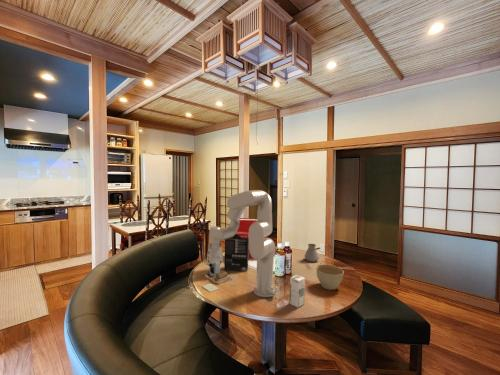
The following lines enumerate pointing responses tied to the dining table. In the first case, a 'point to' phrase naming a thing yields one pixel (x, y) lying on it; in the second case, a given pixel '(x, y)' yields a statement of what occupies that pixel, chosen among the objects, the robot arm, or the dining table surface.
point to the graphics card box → (237, 252)
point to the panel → (215, 269)
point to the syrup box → (297, 291)
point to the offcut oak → (221, 279)
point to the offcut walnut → (221, 275)
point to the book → (246, 227)
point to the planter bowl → (329, 276)
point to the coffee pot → (311, 253)
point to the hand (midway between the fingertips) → (214, 271)
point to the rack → (214, 278)
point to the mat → (210, 287)
